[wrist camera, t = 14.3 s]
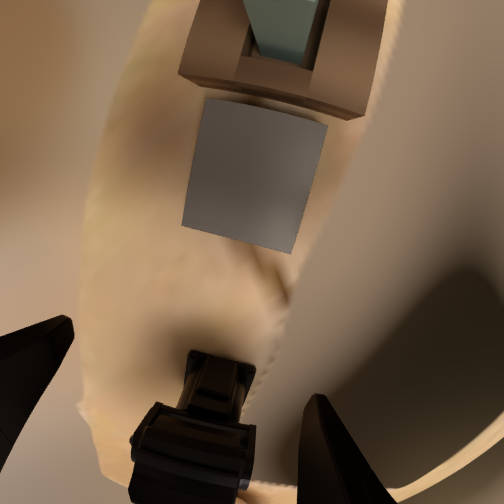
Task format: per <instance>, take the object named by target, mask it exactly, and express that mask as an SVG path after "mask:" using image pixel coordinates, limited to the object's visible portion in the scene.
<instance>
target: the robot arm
mask: <svg viewBox="0 0 504 504" xmlns="http://www.w3.org/2000/svg"><path fill="white" fill-rule="evenodd" d="M74 335H75V334H74V328H73V323H72V320H71V318H69V317H67V316H65V315H59V316H56V317H54V318H51V319H48V320H46V321H43V322H40V323H37V324H34V325H31V326H28V327H26V328H23V329H20V330H17V331H15V332H12V333H9V334H6V335H3V336H1V337H0V472H1V470H2V468H3V466H4V464H5V462H6V459H7V458H8V456H9V454H10V452H11V450H12V448H13V445H14V444H15V442H16V440H17V438H18V436H19V434H20V432H21V430H22V428H23V427H24V425H25V423H26V421H27V420H28V418H29V416H30V414H31V412H32V411H33V409H34V408H35V406H36V404H37V402H38V401H39V399H40V397H41V396H42V394H43V393H44V391H45V389H46V388H47V386H48V385H49V383H50V381H51V380H52V378H53V377H54V375H55V374H56V372H57V370H58V368H59V367H60V365H61V363H62V361H63V359H64V357H65V355H66V353H67V351H68V349H69V348H70V346H71V344H72V342H73V340H74ZM193 355H194V356H193ZM249 370H251V371H249ZM255 374H256V368H255V367H254V366H250V365H246V364H242V363H238V362H234V361H230V360H227V359H223V358H219V357H215V356H212V355H208V354H205V353H201V352H198V351H195V350H191V351H189V353H188V356H187V364H186V372H185V380H184V388H183V391H182V394H181V396H180V399H179V401H178V404H177V407H176V408H173V407H170V406H167V405H163V403H160V402H157V401H156V403H155V404H154V406H153V407H151V409H150V410H149V411H148V413H147V414H146V416H145V417H144V419H143V420H142V422H141V423H140V425H139V426H138V428H137V429H136V430H135V432H134V434H133V435H132V436H131V437H130V440H129V442H130V444H131V446H132V447H131V459H132V461H133V462H135V464H134V469H133V474H132V477H131V481H130V484H129V487H128V492H129V496H130V499H131V502H132V503H134V504H235V502H236V497H237V493H238V490H243V491H246V490H247V488H248V486H249V483H250V479H251V474H252V470H253V464H254V455H255V440H256V425H252V424H250V425H246V424H241V423H239V421H240V415H241V410H242V406H243V404H244V402H245V399H246V397H247V394H248V392H249V389H250V387H251V384H252V381H253V379H254V376H255ZM297 504H398V503H397V502H396V501H395V500H394V499H393V498H392V496H391V495H390V494H389V493H388V491H387V490H386V489H385V487H384V486H383V485H382V483H381V482H380V481H379V479H378V477H377V476H376V474H375V473H374V471H373V470H372V469H371V467H370V465H369V464H368V462H367V460H366V459H365V457H364V456H363V454H362V453H361V451H360V449H359V448H358V446H357V445H356V443H355V441H354V440H353V438H352V437H351V435H350V433H349V432H348V430H347V429H346V427H345V425H344V424H343V422H342V421H341V419H340V418H339V416H338V414H337V413H336V411H335V409H334V408H333V406H332V405H331V403H330V401H329V400H328V398H327V397H326V395H324V394H317V393H314V394H313V395H312V396H311V398H310V400H309V401H308V403H307V405H306V406H305V408H304V412H303V420H302V427H301V435H300V441H299V452H298V487H297Z"/></svg>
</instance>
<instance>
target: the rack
mask: <svg viewBox="0 0 504 504" xmlns="http://www.w3.org/2000/svg"><path fill="white" fill-rule="evenodd" d="M387 2H388V0H319V2H318V6H317V10H316V13H315V17H314V21H313V24H312V28H311V31H310V35H309V39H308V42H307V46H306V50H305V53H304V57H303V61H302V64H301V65H297V64H293V63H290V62H285V61H281V60H277V59H272V58H268V57H263V56H261V54H260V51H259V48H258V45H257V41H256V38H255V35H254V32H253V29H252V26H251V23H250V20H249V17H248V14H247V11H246V9H245V6H244V3H243V0H201V1H200V3H199V6H198V9H197V12H196V15H195V18H194V21H193V24H192V27H191V30H190V33H189V36H188V39H187V43H186V46H185V49H184V53H183V56H182V60H181V64H180V67H179V71H178V74H179V75H181V76H182V77H184V78H186V79H188V80H190V81H192V82H193V83H195V84H197V85H199V86H200V87H207V88H214V89H220V90H226V91H232V92H238V93H243V94H248V95H253V96H258V97H263V98H267V99H272V100H276V101H280V102H284V103H288V104H292V105H296V106H300V107H303V108H307V109H311V110H314V111H317V112H321V113H324V114H327V115H331V116H334V117H337V118H340V119H343V120H346V121H347V120H351V119H355V118H358V117H362V116H365V112H366V108H367V103H368V99H369V95H370V91H371V86H372V82H373V77H374V73H375V68H376V63H377V59H378V54H379V49H380V43H381V38H382V32H383V27H384V21H385V15H386V8H387Z"/></svg>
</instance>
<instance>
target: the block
mask: <svg viewBox="0 0 504 504" xmlns="http://www.w3.org/2000/svg"><path fill="white" fill-rule="evenodd" d="M318 2H319V0H243V3H244V6H245V9H246V11H247V14H248V17H249V20H250V23H251V26H252V29H253V32H254V35H255V38H256V41H257V45H258V48H259V51H260V54H261V56H263V57H268V58H272V59H277V60H281V61H285V62H290V63H293V64H297V65H301V64H302V61H303V57H304V53H305V50H306V46H307V42H308V39H309V35H310V31H311V28H312V24H313V21H314V17H315V13H316V10H317V6H318Z"/></svg>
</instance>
